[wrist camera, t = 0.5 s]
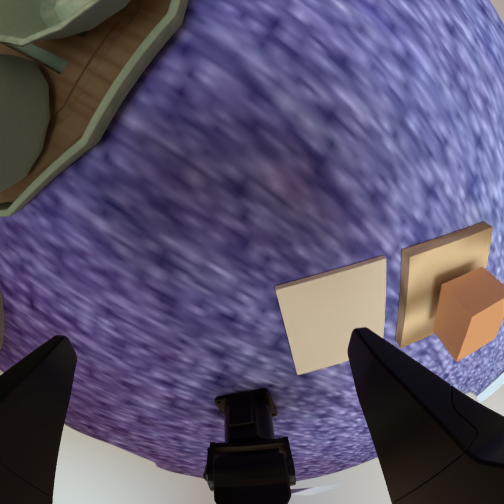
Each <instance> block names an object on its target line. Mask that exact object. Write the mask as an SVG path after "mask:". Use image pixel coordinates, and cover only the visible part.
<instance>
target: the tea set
mask: <svg viewBox="0 0 504 504" xmlns="http://www.w3.org/2000/svg"><path fill="white" fill-rule="evenodd" d="M188 1H189V0H0V217H2V216H12V215H13V214H15V213H16V212H18V211H20V210H21V209H23V208H24V207H25V206H26V205H27V204H28V203H29V202H30V201H31V200H32V199H33V198H34V197H35V196H36V195H37V194H38V193H39V192H40V191H41V190H42V189H43V188H44V187H45V186H46V185H47V184H48V183H50V182H51V181H52V180H53V179H54V178H55V177H56V176H57V175H59V174H60V173H61V172H62V171H63V170H64V169H66V168H67V167H68V166H69V165H70V164H72V163H73V162H74V161H75V160H77V159H78V158H79V157H80V156H82V155H83V154H84V153H85V152H87V151H88V150H89V149H91V148H92V147H93V146H95V145H96V144H97V143H99V141H100V139H101V138H102V136H103V134H104V132H105V130H106V129H107V127H108V125H109V123H110V122H111V120H112V118H113V117H114V115H115V113H116V112H117V110H118V109H119V107H120V105H121V104H122V102H123V101H124V99H125V98H126V96H127V94H128V93H129V91H130V90H131V89H132V87H133V86H134V84H135V83H136V81H137V80H138V78H139V77H140V76H141V74H142V73H143V72H144V70H145V69H146V67H147V66H148V65H149V63H150V62H151V61H152V60H153V58H154V57H155V56H156V54H157V53H158V52H159V51H160V49H161V48H162V47H163V46H164V45H165V43H166V42H167V41H168V40H169V39H170V37H171V36H172V35H173V34H174V33H175V32H176V31H177V29H178V28H179V27H180V26H181V25H182V22H183V19H184V15H185V11H186V8H187V4H188Z"/></svg>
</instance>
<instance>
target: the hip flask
mask: <svg viewBox="0 0 504 504" xmlns="http://www.w3.org/2000/svg"><path fill="white" fill-rule="evenodd" d="M3 340H4V305H3V297H2V294H1V292H0V351H1V348H2V345H3Z"/></svg>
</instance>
